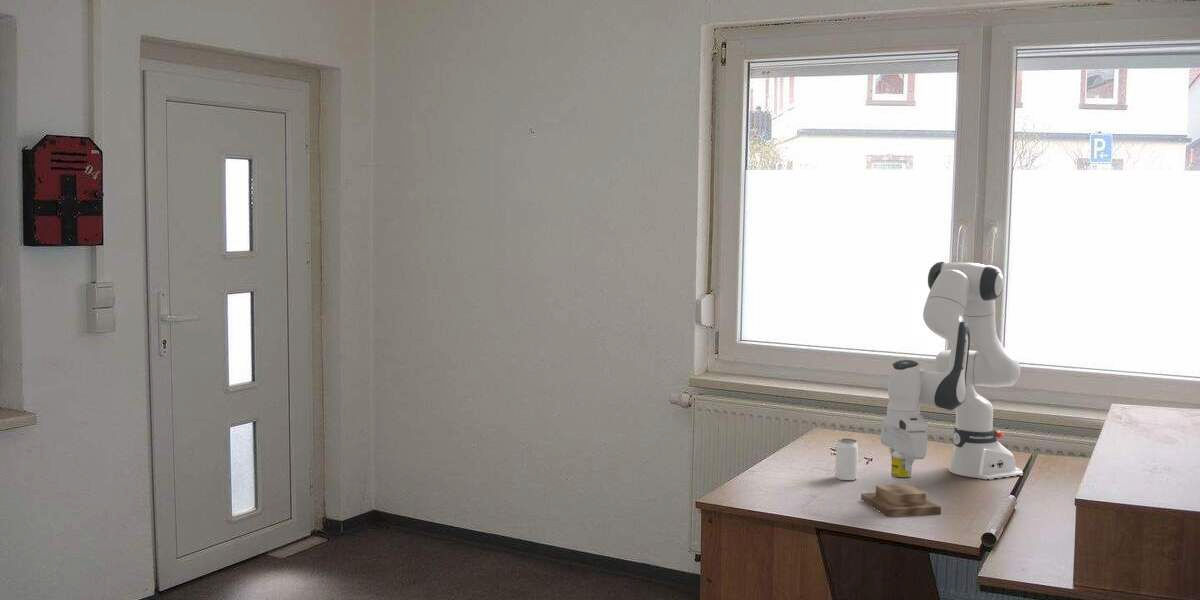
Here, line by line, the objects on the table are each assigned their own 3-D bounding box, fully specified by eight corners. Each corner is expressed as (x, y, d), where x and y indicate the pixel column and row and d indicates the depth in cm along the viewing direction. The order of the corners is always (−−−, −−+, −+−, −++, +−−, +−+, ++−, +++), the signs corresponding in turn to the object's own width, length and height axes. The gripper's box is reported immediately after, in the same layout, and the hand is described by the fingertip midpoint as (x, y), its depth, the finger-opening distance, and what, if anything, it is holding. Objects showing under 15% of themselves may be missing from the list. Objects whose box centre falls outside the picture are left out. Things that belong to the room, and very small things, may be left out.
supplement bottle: (888, 476, 295) (889, 442, 294) (906, 476, 295) (907, 442, 295) (895, 481, 290) (896, 446, 289) (914, 481, 290) (915, 446, 289)
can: (857, 481, 319) (858, 443, 318) (835, 480, 321) (836, 442, 320) (856, 476, 326) (857, 438, 325) (835, 475, 327) (836, 437, 326)
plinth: (912, 497, 303) (912, 480, 302) (940, 513, 287) (941, 495, 287) (860, 500, 300) (861, 483, 299) (886, 516, 284) (887, 498, 283)
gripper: (875, 411, 300) (874, 458, 302) (910, 426, 281) (908, 477, 282) (895, 411, 302) (894, 458, 303) (932, 426, 282) (930, 476, 283)
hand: (901, 467), depth 292 cm, fingers closed on supplement bottle, 5 cm apart
